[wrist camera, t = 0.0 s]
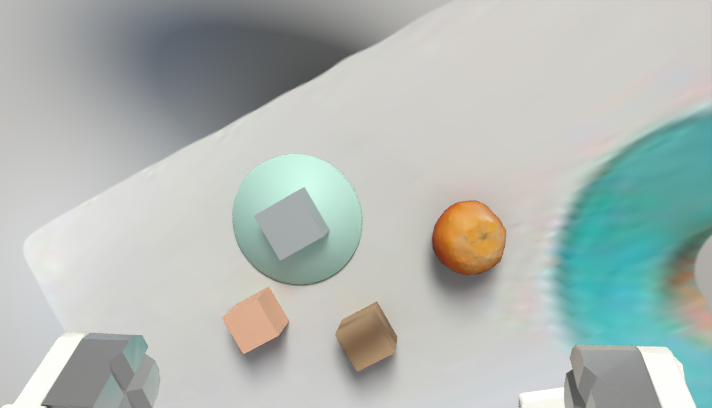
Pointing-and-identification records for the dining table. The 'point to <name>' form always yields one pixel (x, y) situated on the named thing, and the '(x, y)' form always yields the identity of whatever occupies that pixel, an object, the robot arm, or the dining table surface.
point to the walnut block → (367, 337)
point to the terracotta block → (256, 320)
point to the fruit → (469, 238)
